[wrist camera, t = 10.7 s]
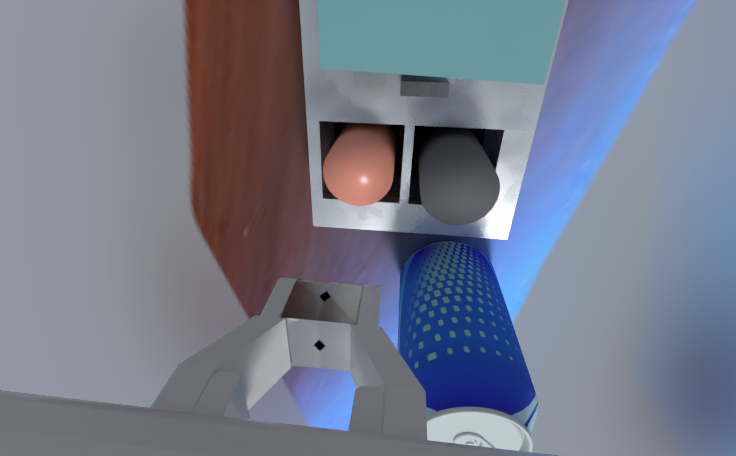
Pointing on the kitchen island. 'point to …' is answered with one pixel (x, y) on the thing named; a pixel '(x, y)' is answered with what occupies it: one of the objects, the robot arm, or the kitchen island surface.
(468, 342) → the beer can
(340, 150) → the pink rounded cylinder
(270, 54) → the kitchen island surface
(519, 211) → the kitchen island surface
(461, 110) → the switch box
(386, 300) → the kitchen island surface
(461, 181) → the black button
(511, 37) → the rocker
